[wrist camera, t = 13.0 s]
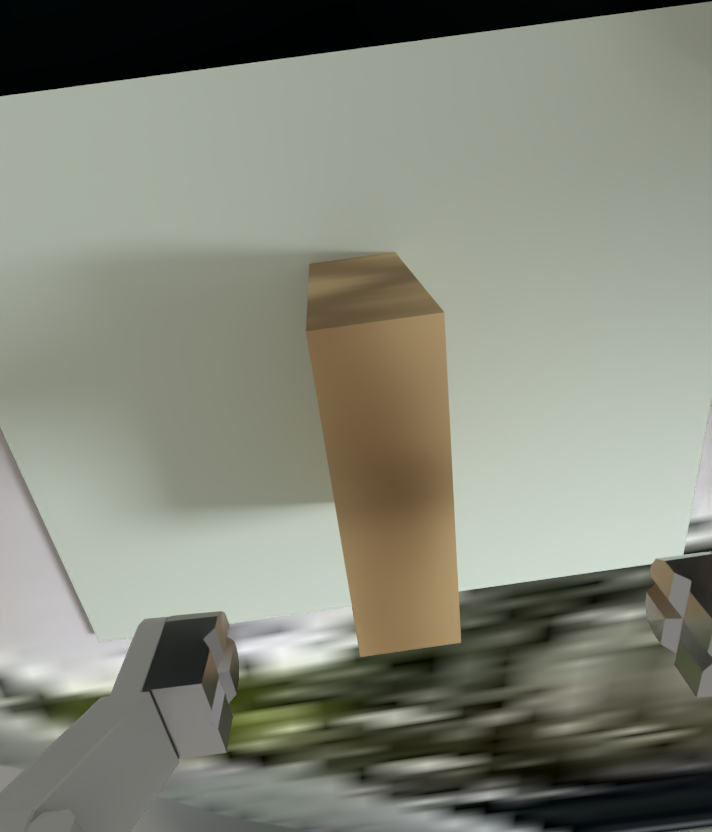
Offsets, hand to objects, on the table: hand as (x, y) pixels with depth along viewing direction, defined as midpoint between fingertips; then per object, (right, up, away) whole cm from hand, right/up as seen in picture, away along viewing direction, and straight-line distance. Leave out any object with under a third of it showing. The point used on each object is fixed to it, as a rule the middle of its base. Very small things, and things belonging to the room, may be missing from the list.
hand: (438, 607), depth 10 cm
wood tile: (-1, +5, +11) cm, 12 cm away
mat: (-1, +5, +11) cm, 12 cm away
